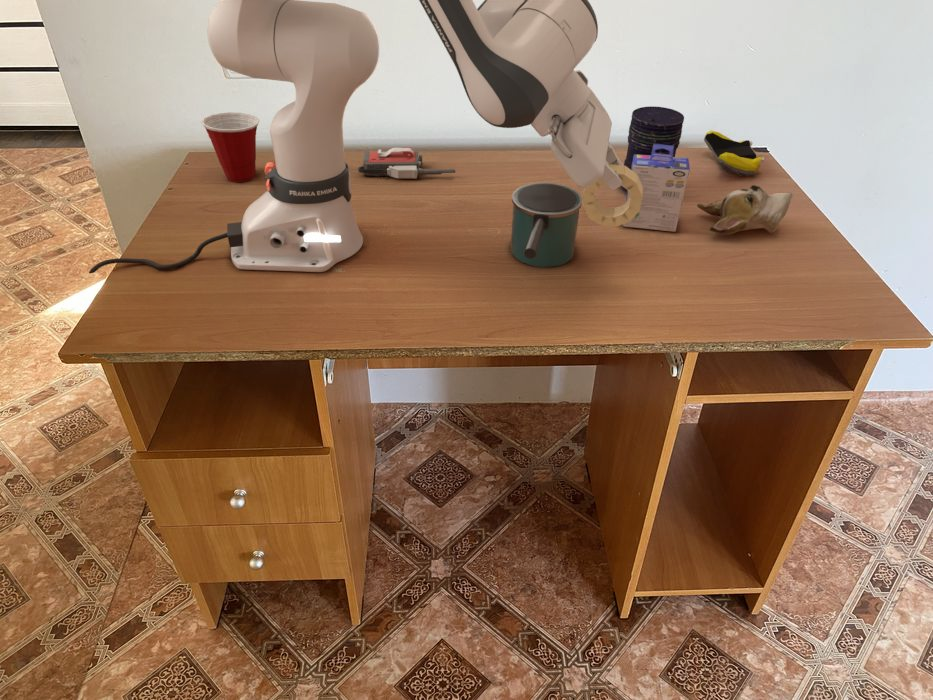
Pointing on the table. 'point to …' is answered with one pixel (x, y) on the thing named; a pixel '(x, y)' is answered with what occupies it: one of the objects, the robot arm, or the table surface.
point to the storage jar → (652, 132)
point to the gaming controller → (733, 154)
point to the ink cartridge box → (660, 189)
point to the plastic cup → (234, 143)
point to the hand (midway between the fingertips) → (619, 178)
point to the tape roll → (620, 213)
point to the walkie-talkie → (396, 164)
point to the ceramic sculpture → (748, 210)
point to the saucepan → (544, 223)
